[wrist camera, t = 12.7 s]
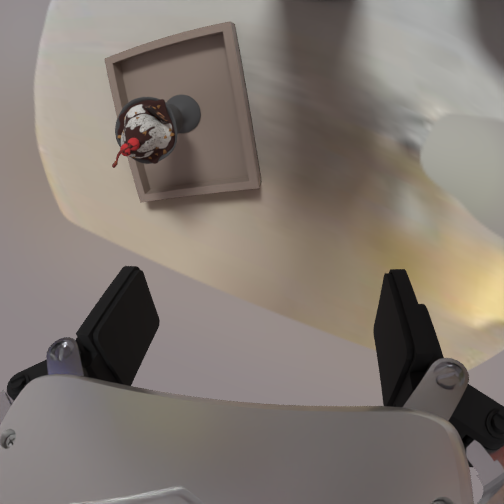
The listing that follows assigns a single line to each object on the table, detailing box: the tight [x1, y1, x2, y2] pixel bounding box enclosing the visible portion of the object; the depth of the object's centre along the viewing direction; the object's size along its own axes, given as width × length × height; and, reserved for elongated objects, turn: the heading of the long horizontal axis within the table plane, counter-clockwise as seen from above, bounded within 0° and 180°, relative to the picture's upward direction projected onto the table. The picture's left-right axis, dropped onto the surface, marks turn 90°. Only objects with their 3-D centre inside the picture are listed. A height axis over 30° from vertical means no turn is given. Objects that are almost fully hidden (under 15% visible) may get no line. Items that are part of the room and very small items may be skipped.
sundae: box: [112, 95, 201, 168], centre depth 30 cm, size 7×7×15 cm
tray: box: [105, 22, 261, 202], centre depth 35 cm, size 20×16×2 cm
